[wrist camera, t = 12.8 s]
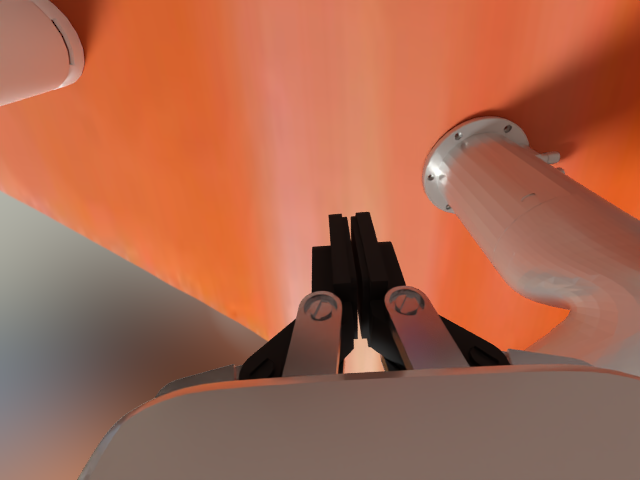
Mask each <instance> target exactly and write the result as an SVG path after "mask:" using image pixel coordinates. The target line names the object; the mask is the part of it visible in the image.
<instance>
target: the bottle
mask: <svg viewBox="0 0 640 480" xmlns="http://www.w3.org/2000/svg"><path fill="white" fill-rule="evenodd" d="M51 20H53V22H54V23H55V25H56V26H57V27H58V29H59V30H60V32H61V33H62V35H63V37H64V39H65V42H66V44H67V47H68V49H69V55H70V63H71V64H69V56H68V51H67V48H66V46H65V43H64V41H63V38H62V36H61V34H60V33H59V31H58V30H57V28H56V27H55V25H54V24H53V22H52V21H51ZM84 64H85V62H84V52H83V47H82V45H81V42H80V40H79V37H78V34H77V33H76V31H75V29H74V28H73V26H72V25H71V23H70V22H69V20H68V19H67V17H66V16H65V15H64V14H63V13H62V12H61V11H60V10H59V9H58V8H57V7H56V6H55V5H54V4H53V3H52V2H50V1H49V0H0V106H3V105H6V104H9V103H12V102H16V101H19V100H22V99H26V98H29V97H32V96H35V95H39V94H42V93H45V92H48V91H51V90H55V89H58V88H61V87H65V86H67V85H70V84H72V83H75V82H76V81H77V79H78V78H79V77H80V76H81V75H82V71H83V68H84Z"/></svg>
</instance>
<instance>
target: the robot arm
mask: <svg viewBox="0 0 640 480" xmlns="http://www.w3.org/2000/svg"><path fill="white" fill-rule="evenodd" d="M456 134H457V135H456ZM455 135H456V136H455ZM559 160H560V154H559V152H558V151H553V152H546V153H543V154H539V153H538V152H536V151H534V150H533V149H531V148H530V147H529V142H528V139H527V136H526V134H525V133H524V131H523V130H522V129H521V128H520V127H519V126H518V125H516V124H515V123H513V122H512V121H510V120H508V119H505V118H501V117H498V116H484V117H477V118H474V119H471V120H468V121H465V122H463V123H461V124H459V125H458V126H456V127H454V128H453V129H451V130H450V131H449V132H447V133H446V134H445V135H444V136H443V137H442V138H441V139H440V140H439V141H438V142H437V143H436V144H435V146H434V147H433V148H432V150H431V151H430V153H429V155H428V157H427V159H426V162H425V165H424V168H423V174H422V182H423V187H424V190H425V193H426V195H427V196H428V198H429V200H430V201H431V202H432V203H433V204H434V205H435V206H436V207H438V208H439V209H441V210H443V211H445V212H449V213H454V214H456V215H457V216H458V218H459V219H460V220H461V222H462V223H463V225H464V226H465V227H466V229H467V230H468V231H469V233H470V234H471V236H472V237H473V238H474V240H475V241H476V242H477V244H478V245H479V247H480V248H481V249H482V251H483V252H484V253H485V255H486V256H487V258H488V259H489V260H490V262H491V263H492V264H493V266H494V267H495V269H496V270H497V271H498V273H499V274H500V275H501V277H502V278H503V279H504V281H505V282H506V283H507V284H508V285H509V286H510V287H511V288H512V289H513V290H514V291H516V292H517V293H519V294H520V295H522V296H523V297H525V298H527V299H530V300H532V301H535V302H538V303H541V304H545V305H548V306H553V307H558V308H563V309H568V310H570V312H569V315H568V316H567V317H566V319H565V320H564V321H562V322H561V323H560V324H558V325H557V326H556V327H555V328H553V329H552V330H551V331H550V332H549V333H548V334H546V335H545V336H544V337H542V338H541V339H539V340H538V341H536V342H535V343H534V344H532V345H531V346H529V347H528V348H527V349H525V350H524V351H521V350H514V349H508V350H507V352H504V351H501V350H500V349H498V348H497V347H495V346H494V345H493V344H491V343H489V342H487V341H485V340H484V339H482V338H480V337H478V336H476V335H475V334H473V333H471V332H469V331H467V330H465V329H464V328H462V327H460V326H458V325H456V324H455V323H453V322H451V321H449V320H447V319H446V318H444V317H442V316H440V315H438V314H437V312H436V310H435V309H434V307H433V305H432V304H431V302H430V300H429V299H428V297H427V296H426V295H425V294H424V293H423V292H422V291H420V290H419V289H416V288H414V287H410V286H406V284H405V281H404V278H403V275H402V272H401V269H400V266H399V263H398V260H397V257H396V254H395V251H394V248H393V245H392V243H391V242H378V241H377V238H376V234H375V230H374V227H373V223H372V220H371V216H370V213H369V212H360V213H356V216H353V217H351V239H350V233H349V226H348V220H347V217H342V214H332V215H329V227H330V242H331V246H318V247H312V293H310V294H309V295H307V296H305V298H304V299H303V300H302V301H301V303H300V305H299V309H298V313H297V317H296V319H295V320H294V321H293V322H291V323H290V324H289V325H288V326H287V327H285V328H284V329H283V330H282V331H281V332H279V333H278V334H277V335H276V336H275V337H273V338H272V339H271V340H270V341H269V342H267V343H266V344H265V345H264V346H263V347H261V348H260V349H259V350H258V351H257V352H255V353H254V354H253V355H252V356H251V357H250V358H248V359H247V361H246V362H245V363H244V364H243V365H240V366H237V367H235V366H234V364H232V365H229V366H225V367H221V368H218V369H214V370H210V371H207V372H203V373H200V374H196V375H192V376H189V377H185V378H181V379H178V380H175V381H173V382H171V383H169V384H167V385H166V386H165V387H163V388H162V389H161V390H160V391H159V393H158V394H157V395H156V397H155V398H154V399H153V400H150V401H148V402H146V403H144V404H142V405H140V406H139V407H137V408H135V409H133V410H132V411H130V412H129V413H127V414H126V415H125V416H123V417H122V418H121V419H120V420H118V421H117V422H116V423H115V424H114V425H113V427H112V428H111V429H110V430H109V431H108V432H107V434H106V435H105V436H104V437H103V439H102V440H101V442H100V443H99V445H98V446H97V448H96V449H95V451H94V452H93V454H92V455H91V457H90V459H89V460H88V462H87V464H86V465H85V467H84V468H83V470H82V472H81V474H80V476H79V477H78V479H77V480H640V221H639V220H638V219H636V218H634V217H633V216H631V215H629V214H628V213H626V212H624V211H623V210H621V209H620V208H618V207H616V206H615V205H613V204H612V203H610V202H608V201H607V200H605V199H603V198H602V197H600V196H599V195H597V194H595V193H594V192H592V191H591V190H589V189H588V188H586V187H584V186H583V185H581V184H580V183H578V182H577V181H575V180H573V179H572V178H570V177H569V176H567V175H565V172H564V170H563V169H562V168H554V167H553V166H551V165H550V164H554V163H557V162H558V161H559ZM358 316H359V323H360V330H361V336H362V339H363V338H367V341H368V347H371V348H373V349H374V350H375V351H377V352H378V353H380V357H381V362H382V365H383V367H384V370H385V371H384V372H366V373H347V374H344V368H345V357H346V356H347V355H348V354H349V353H350V352H351V351H352V350H353V349H354V339H358Z"/></svg>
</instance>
